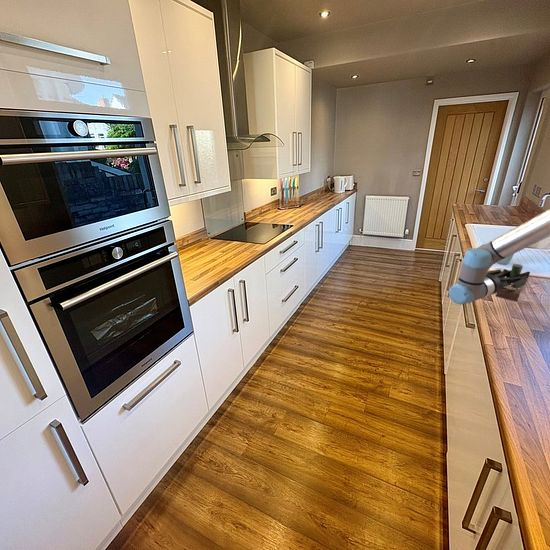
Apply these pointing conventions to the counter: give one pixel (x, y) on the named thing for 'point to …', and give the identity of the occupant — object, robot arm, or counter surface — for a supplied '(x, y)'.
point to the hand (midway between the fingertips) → (522, 273)
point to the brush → (507, 292)
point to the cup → (506, 259)
